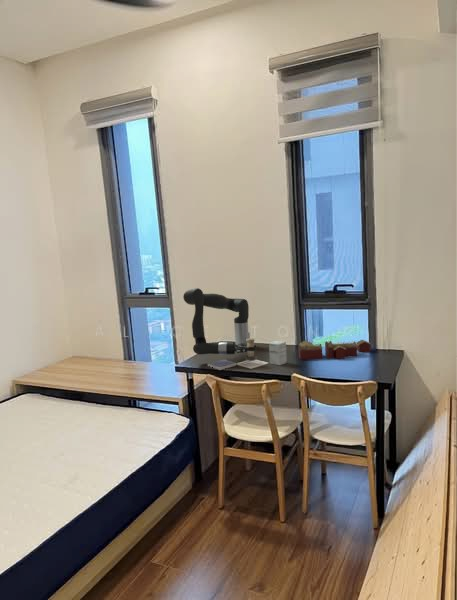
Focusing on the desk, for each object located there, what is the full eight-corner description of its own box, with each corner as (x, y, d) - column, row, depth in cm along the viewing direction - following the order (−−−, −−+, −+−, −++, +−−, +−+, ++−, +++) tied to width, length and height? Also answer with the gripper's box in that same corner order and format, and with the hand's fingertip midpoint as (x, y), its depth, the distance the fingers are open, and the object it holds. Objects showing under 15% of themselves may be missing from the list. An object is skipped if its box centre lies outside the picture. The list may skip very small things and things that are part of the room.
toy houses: (301, 361, 266) (300, 345, 265) (296, 352, 287) (295, 337, 285) (377, 357, 265) (377, 340, 264) (367, 348, 285) (367, 333, 284)
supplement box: (269, 363, 265) (268, 342, 263) (277, 360, 270) (276, 340, 269) (279, 365, 260) (278, 344, 258) (287, 362, 265) (286, 341, 263)
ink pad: (223, 361, 275) (223, 359, 275) (236, 365, 266) (235, 362, 266) (207, 366, 268) (207, 363, 268) (220, 370, 258) (220, 367, 258)
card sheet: (252, 359, 277) (252, 358, 277) (268, 363, 266) (268, 362, 266) (235, 364, 268) (235, 363, 268) (251, 368, 257) (250, 368, 257)
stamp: (251, 357, 270) (250, 337, 268) (257, 359, 266) (256, 339, 264) (244, 359, 267) (244, 339, 265) (250, 361, 263) (249, 340, 261)
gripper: (224, 344, 261) (253, 344, 257) (228, 339, 275) (256, 338, 271) (224, 357, 262) (254, 357, 259) (229, 351, 276) (257, 351, 272)
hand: (255, 347), depth 265 cm, fingers closed on stamp, 4 cm apart
